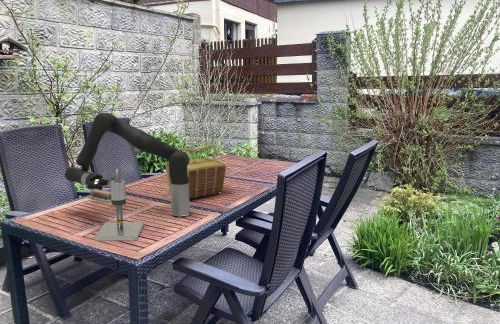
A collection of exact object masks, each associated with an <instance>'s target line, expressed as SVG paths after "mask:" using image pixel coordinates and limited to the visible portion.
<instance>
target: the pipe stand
mask: <svg viewBox="0 0 500 324" xmlns="http://www.w3.org/2000/svg"><path fill="white" fill-rule="evenodd" d="M113 174H114V175H113V176H114V177H113V178H115V183H119V182H121V180H122V178H121V175H122V174H121V168H114V169H113ZM115 209H116V221H115V222H114V221H113V222H105V223H104V224H103V225H102V227H101V228H100V229H99V230H98V232H97V233H96V234H95V235H94V241H95V242H98V241H99V242H102V241H104V242H107V241H108V242H109V241H114V242H116V241H137V240H138V239H137V238H139V237H140V235H141V233H140V232H142V231H141V230H143V229H144V227H145V222H144V221H124V217H123V215H124V214H123V205H121V206H115ZM143 226H144V227H143ZM142 228H143V229H142ZM139 234H140V235H139ZM138 236H139V237H138Z"/></svg>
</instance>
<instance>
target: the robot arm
mask: <svg viewBox="0 0 500 324" xmlns="http://www.w3.org/2000/svg"><path fill="white" fill-rule="evenodd" d="M90 128H91V129H90V131H89V134H88V136H87V138H86V139H85V142H84V144H83V146H82V149H81V150H80V152H79V154H78V155H77V158H76V159H75V163H76V164H77V165H79V166H80V167H81V168H77V167H73V166H71V167H68V168H66V170H65V172H64V177H65V179H66V180H67V181H69V182H73V183H77V184H80V185H81V186H84V187H85V189H88V190H90V191H92V190H97V189H98V190H103V188H104V187H111V181H114V180H115V177H109V178H104V177H103V175H102V174H99V173H96V172H93V171H89V169H90V167H91V166H90V165H91V164H92V162H93V160H94V158H95V157H96V154H97V151H98V148H99V145H100V141H101V139H102V138H103V136H104V134H106V132H109V133H110V132H111V133H113V134H115V135H118V136H119V137H121V138H122V139H124V140H125V141H126V142H127V143H128V144H129V145H131V146H132V147H133V148H136V149H138V150H139V151H142V152H144V153H146V154H149V155H153V156H157V157H160V158H163V159H164V160H166V161H168V162H169V176H170V180H171V192H170V202H171V203H170V204H171V207H170V208H171V211H170V212H171V216H172V215H174V216H182V215H187V214H189V212H190V213H191V203H190V202H191V199H190V196H189V178H188V175H187V166H188V164H189V162H190V160H191V158H190V156H189V154H188V153H187V152H185V151H183V150H179V148H176V147H173V146H171V145H169V144H167V143H165V142H164V141H162V140H161V139H159V138H157V137H155V136H154V135H151V134H149V133H148V132H145V131H143V130H141V129H140V128H138V127H135V126H132V125H130V124H128V123H126V122H125V121H123V120H121V119H120V118H118V117H117V116H115V115H114V114H112V113H110V112H99V113H98V114H97V115H95V117H94V120H93V122H92V126H91V127H90ZM189 215H190V214H189Z"/></svg>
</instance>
